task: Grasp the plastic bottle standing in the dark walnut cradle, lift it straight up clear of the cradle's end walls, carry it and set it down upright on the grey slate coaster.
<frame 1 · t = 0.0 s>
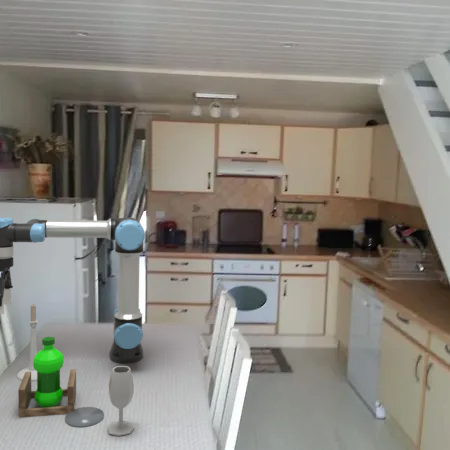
hand: (3, 309, 200), 28 cm above the table, fingers open, 13 cm apart
slate coaster: (84, 417, 172), on the table
walnut cradle: (48, 405, 180), on the table
candlestick: (33, 375, 205), on the table
wineglass: (120, 430, 165), on the table
plastic bottle: (48, 405, 180), resting in walnut cradle
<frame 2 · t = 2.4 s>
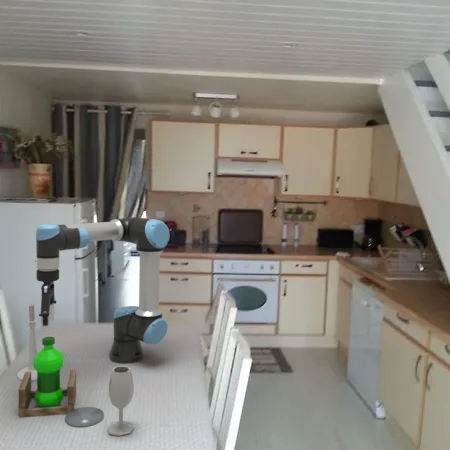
hand: (47, 327, 176), 29 cm above the table, fingers open, 13 cm apart
nothing on the table moved.
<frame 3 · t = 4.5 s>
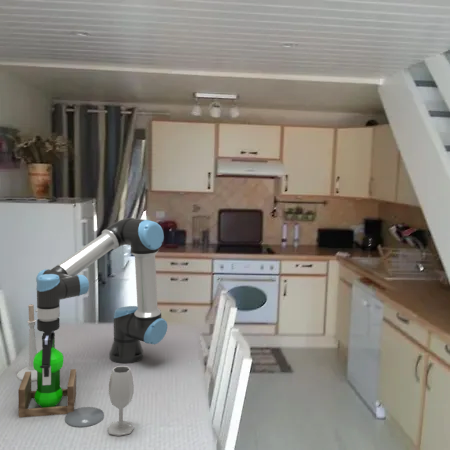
hand: (48, 377, 179), 10 cm above the table, fingers closed on plastic bottle, 10 cm apart
plastic bottle: (48, 405, 180), resting in walnut cradle, touching gripper
everything else where it was.
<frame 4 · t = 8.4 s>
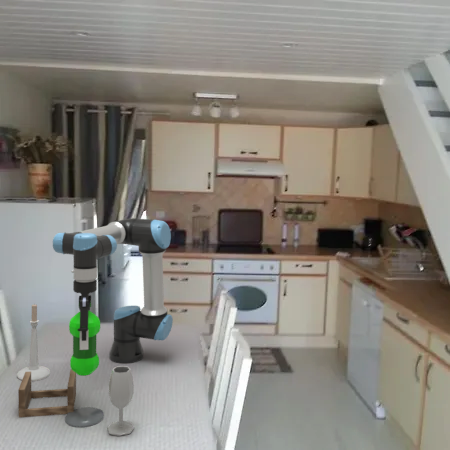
hand: (84, 343, 169), 27 cm above the table, fingers closed on plastic bottle, 10 cm apart
plastic bottle: (84, 373, 170), point 16 cm above the table, touching gripper
when the fingers open (12 cm above the table, at t = 11.5 s): plastic bottle drops 1 cm, resting on slate coaster.
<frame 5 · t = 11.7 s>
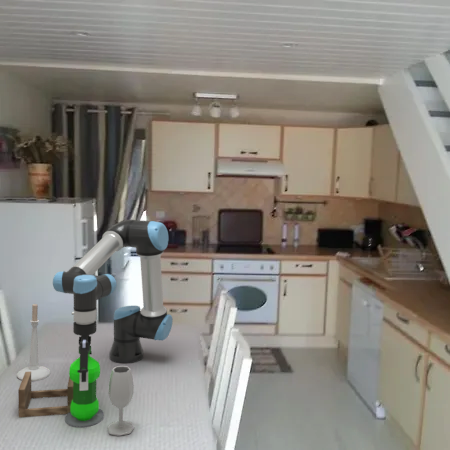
hand: (84, 381, 171), 13 cm above the table, fingers open, 13 cm apart
plastic bottle: (84, 417, 171), resting on slate coaster
everything else where it was.
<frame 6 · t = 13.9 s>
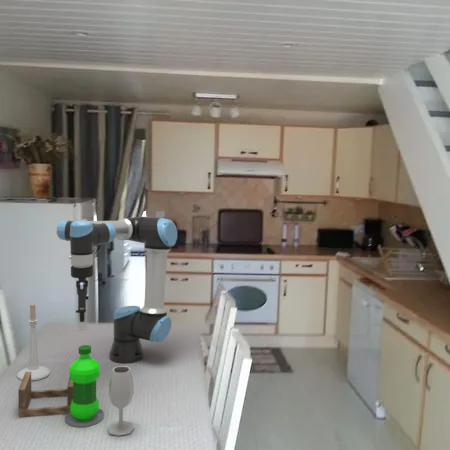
hand: (82, 323, 178), 31 cm above the table, fingers open, 13 cm apart
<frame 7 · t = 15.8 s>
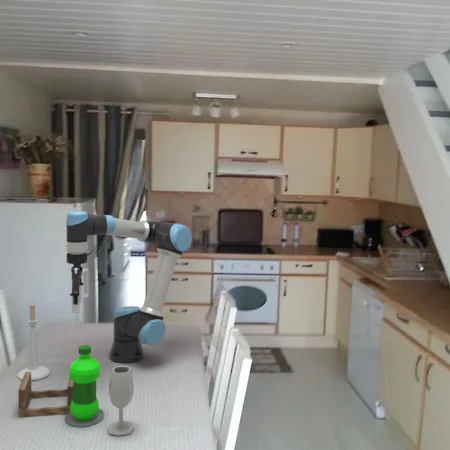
hand: (76, 307, 190), 33 cm above the table, fingers open, 13 cm apart
nothing on the table moved.
at the end: plastic bottle 0.8 cm from the slate coaster (horizontally); plastic bottle tilted 0°; the gripper is holding nothing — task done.
